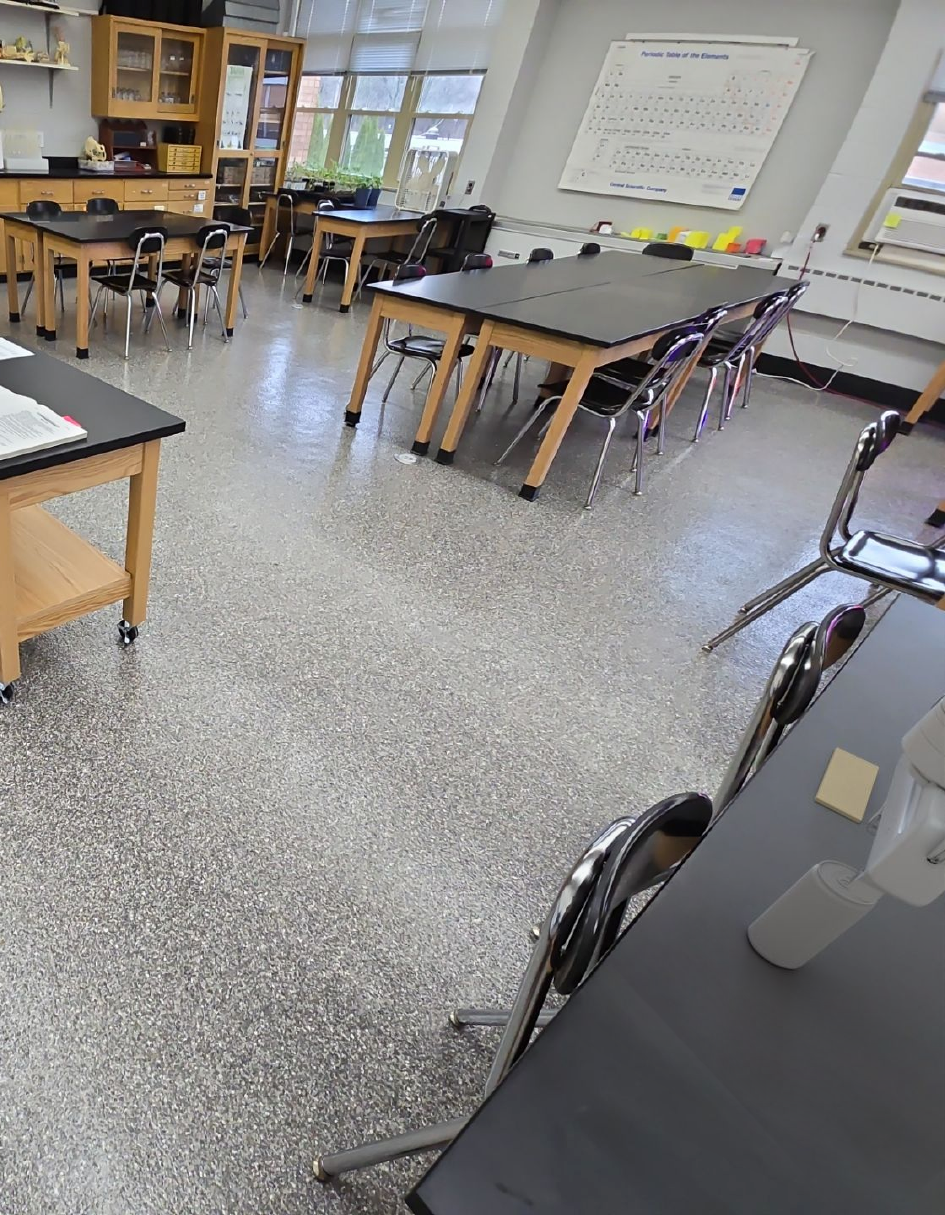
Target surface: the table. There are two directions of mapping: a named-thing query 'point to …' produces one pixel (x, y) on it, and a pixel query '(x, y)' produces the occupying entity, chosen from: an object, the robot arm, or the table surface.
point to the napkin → (847, 785)
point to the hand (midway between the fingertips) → (868, 861)
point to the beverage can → (808, 916)
